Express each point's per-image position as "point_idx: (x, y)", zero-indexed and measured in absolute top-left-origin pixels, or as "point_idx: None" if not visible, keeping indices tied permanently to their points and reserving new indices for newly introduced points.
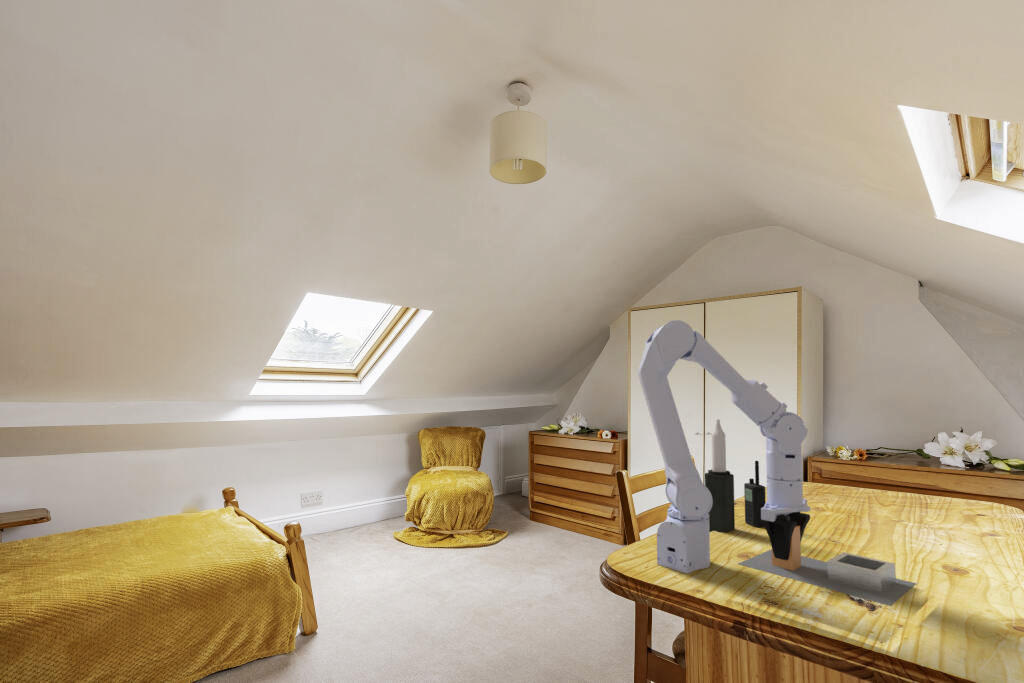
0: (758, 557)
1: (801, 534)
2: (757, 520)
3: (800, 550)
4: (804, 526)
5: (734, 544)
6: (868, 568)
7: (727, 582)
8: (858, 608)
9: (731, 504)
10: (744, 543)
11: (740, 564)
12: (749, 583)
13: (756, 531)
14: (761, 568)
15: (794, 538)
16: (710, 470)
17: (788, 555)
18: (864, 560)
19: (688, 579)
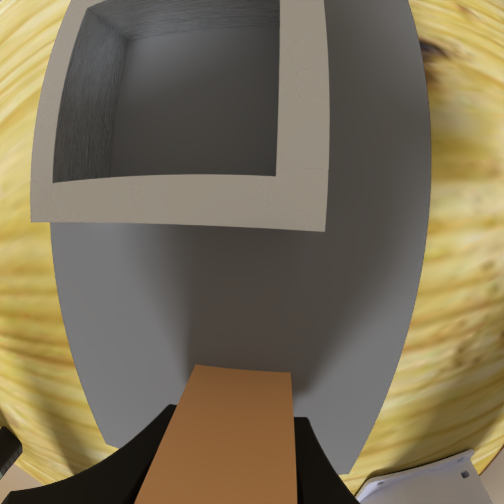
0: None
1: (123, 473)
2: (11, 446)
3: (178, 414)
4: (80, 499)
5: None
6: (95, 88)
7: (466, 417)
8: (460, 83)
9: None
10: None
11: (350, 469)
12: (455, 394)
13: (32, 444)
14: (350, 435)
15: (251, 494)
16: None
17: (302, 430)
18: (70, 94)
19: (472, 448)
